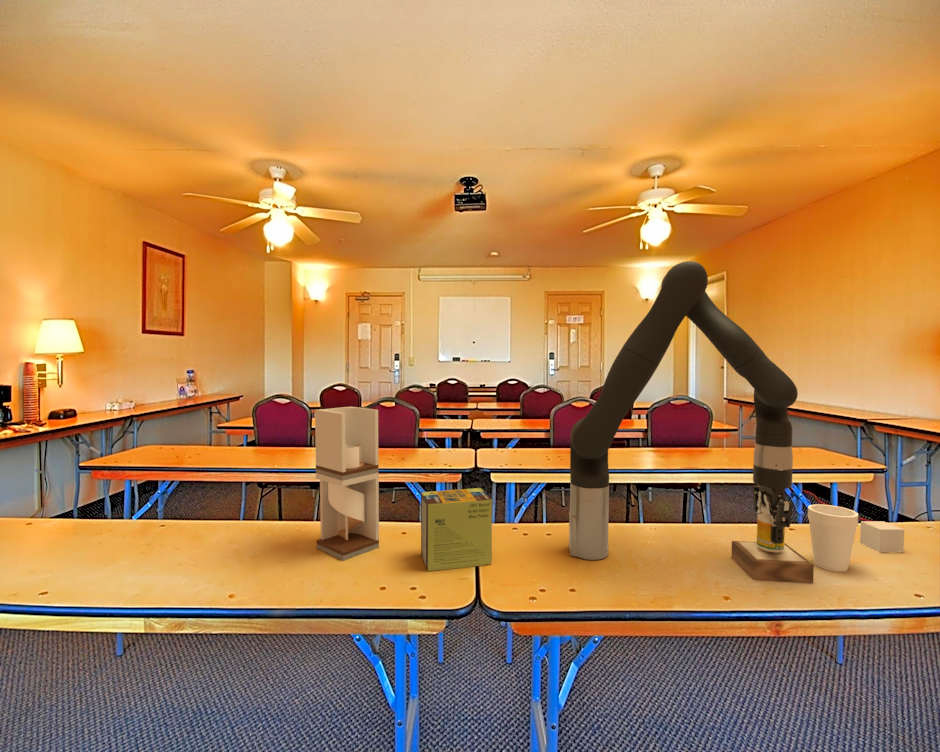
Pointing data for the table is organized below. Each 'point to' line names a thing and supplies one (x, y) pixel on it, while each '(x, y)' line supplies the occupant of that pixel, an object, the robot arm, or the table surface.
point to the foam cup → (832, 535)
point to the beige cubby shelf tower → (348, 480)
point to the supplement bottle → (767, 532)
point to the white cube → (882, 536)
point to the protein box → (456, 529)
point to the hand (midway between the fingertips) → (770, 537)
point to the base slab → (772, 563)
